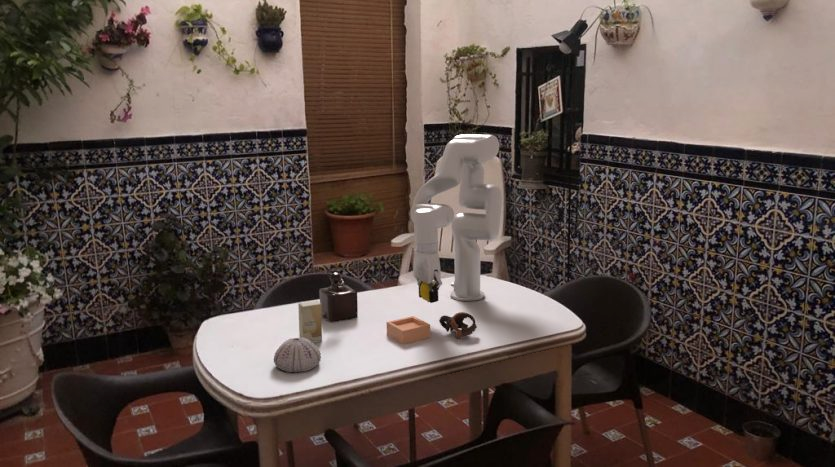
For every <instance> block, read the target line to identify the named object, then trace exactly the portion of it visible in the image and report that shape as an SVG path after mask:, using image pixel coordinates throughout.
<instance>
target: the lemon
mask: <svg viewBox="0 0 835 467" xmlns="http://www.w3.org/2000/svg"><path fill="white" fill-rule="evenodd" d="M434 285H435V283H432V286H434ZM429 291H430V287H429V284H427V283H425V282H422V284H421V286H420V295H421V297H422V299H423V300H424V301H426V302H427V303H430V302H429Z"/></svg>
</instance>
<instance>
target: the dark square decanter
mask: <svg viewBox="0 0 835 467" xmlns="http://www.w3.org/2000/svg"><path fill="white" fill-rule="evenodd" d="M329 281H331V284H330V286H329V285H327V286H328V287H324V288H319V289H318V290H319V291H318V292H319V293H318V294H319V303H320V304H321V318H323V319H324V320H326V321H328V322H330V323H335V322H341V321H342V322H344V321H348V320H353V319H357V318H358V308H359V306H358V305H359V304H358V292H357V291H356V290H354V289H353V288H352V287H351V286H349V285H347V284H345V281H344V279H343V278H342V275H341V273H340V270H339V269H336V270H335V272H332V273H330V275H329Z"/></svg>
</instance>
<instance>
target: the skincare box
mask: <svg viewBox="0 0 835 467" xmlns="http://www.w3.org/2000/svg"><path fill="white" fill-rule="evenodd" d="M297 304H298V305H297V306H298V332H299V334H298V335H299V336H298V338H301V337H303V338H306V339H308V340H310V341H311V342H313V343H316V342H317V343H318V342H323V332H322V331H323V330H322V328H323V327H322V326H323V324H322V321H323V320H322V316H321V304H320V301H318V300H311V301H305V302H304V301H303V302H298V303H297Z"/></svg>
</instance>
